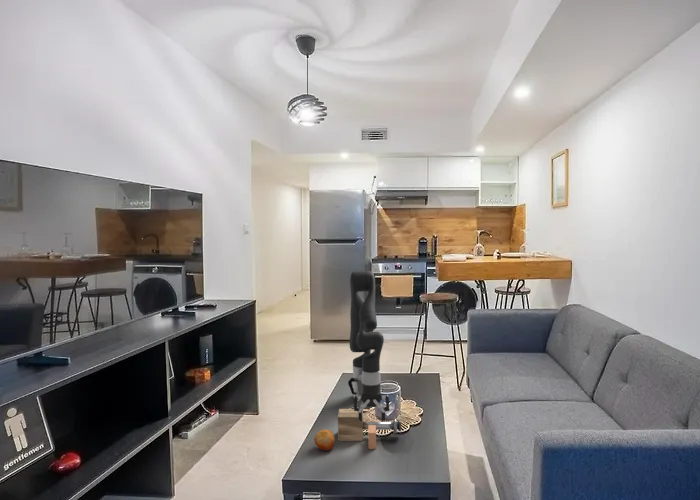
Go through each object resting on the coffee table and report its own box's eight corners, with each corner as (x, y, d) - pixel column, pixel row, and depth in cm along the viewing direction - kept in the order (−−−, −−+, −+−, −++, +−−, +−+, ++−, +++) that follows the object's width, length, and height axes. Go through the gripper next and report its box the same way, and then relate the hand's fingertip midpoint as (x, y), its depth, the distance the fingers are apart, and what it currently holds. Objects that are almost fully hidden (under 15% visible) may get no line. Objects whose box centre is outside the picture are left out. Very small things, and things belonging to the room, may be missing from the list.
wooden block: (339, 431, 187) (339, 408, 187) (363, 431, 187) (362, 408, 186) (338, 440, 179) (337, 417, 179) (362, 440, 179) (362, 417, 178)
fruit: (338, 438, 178) (335, 427, 174) (333, 457, 172) (330, 445, 168) (320, 436, 180) (316, 425, 176) (314, 454, 174) (310, 443, 170)
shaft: (358, 428, 186) (357, 416, 185) (400, 429, 185) (400, 416, 184) (357, 435, 180) (357, 422, 180) (401, 435, 179) (401, 422, 179)
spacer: (368, 440, 179) (368, 425, 179) (375, 440, 179) (375, 425, 179) (368, 448, 172) (368, 433, 172) (376, 448, 172) (375, 433, 172)
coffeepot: (375, 401, 218) (374, 366, 216) (382, 409, 209) (381, 372, 207) (346, 406, 213) (345, 370, 212) (351, 414, 204) (350, 376, 203)
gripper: (388, 377, 177) (389, 416, 178) (353, 378, 178) (354, 416, 179) (389, 384, 170) (390, 425, 171) (353, 384, 171) (353, 424, 172)
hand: (371, 420), depth 175 cm, fingers open, 8 cm apart
